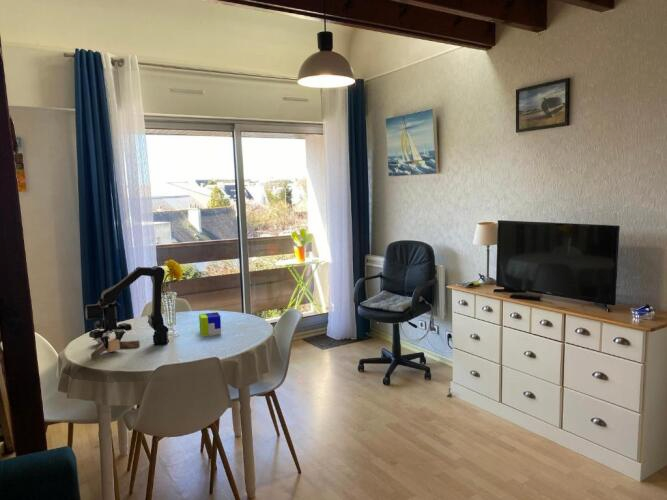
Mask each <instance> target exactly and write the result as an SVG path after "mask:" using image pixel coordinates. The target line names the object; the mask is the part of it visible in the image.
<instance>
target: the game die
mask: <svg viewBox="0 0 667 500" xmlns="http://www.w3.org/2000/svg"><path fill="white" fill-rule="evenodd" d="M100 330H101V331H102V330H104V329H100ZM112 333H113V332H111V333H106V336H108V339H111V334H112ZM92 341H95V342H97V344H100V345H101V344H102V343H103V342H102V340H101V339H100V338H96V339H95V338H92Z"/></svg>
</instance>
